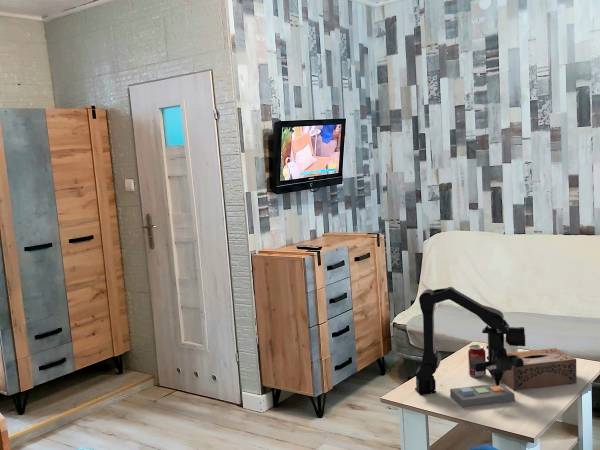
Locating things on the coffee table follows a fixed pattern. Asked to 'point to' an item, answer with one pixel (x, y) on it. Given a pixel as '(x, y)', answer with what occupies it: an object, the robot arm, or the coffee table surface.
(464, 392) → the blue button
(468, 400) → the button panel
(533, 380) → the tissue box cover
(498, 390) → the orange button
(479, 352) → the soda can
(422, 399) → the coffee table surface
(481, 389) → the green button
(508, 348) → the white cup
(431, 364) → the robot arm
